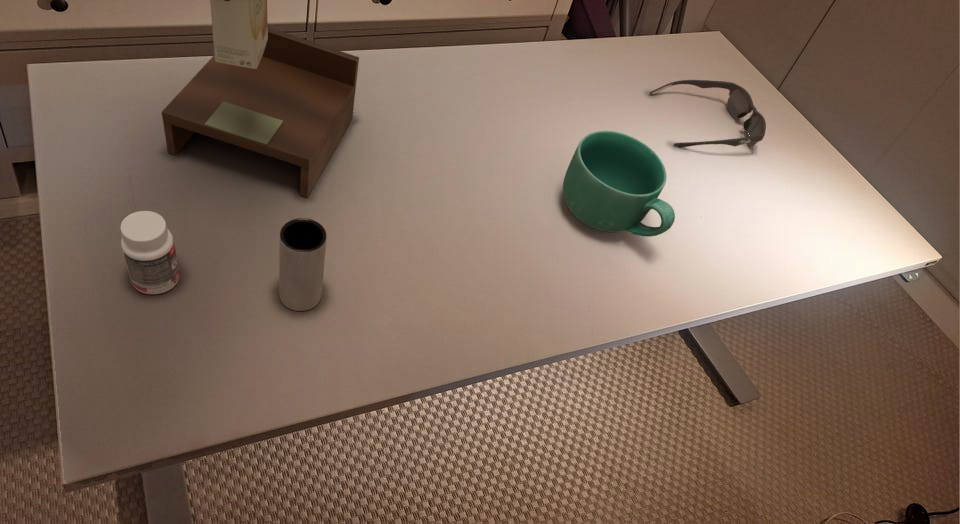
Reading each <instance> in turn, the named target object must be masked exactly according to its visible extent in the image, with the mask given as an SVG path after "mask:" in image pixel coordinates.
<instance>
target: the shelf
mask: <svg viewBox="0 0 960 524" xmlns="http://www.w3.org/2000/svg"><path fill="white" fill-rule="evenodd" d="M359 61H360V57H359V56H358V55H357V56H356V55H353V54H352V53H351V54H350V53H348V52H344V51H341V50H338V49H337V48H336V49H335V48H333V47H331V46H330V47H329V46H326V45H323V44H320V43H317V42H314V41H311V40H308V39H305V38H302V37H299V36H297V35H293V34H291V33H287V32H284V31H281V30H279V29H276V28H275V29H274V28H272V27H269V26H268V40H267V43H266V46H265V50H264V53H263V55H262V58H261V61H260V63H259V65H258V67H257V69H252V68H246V67H240V66H235V65H229V64H224V63H219V62H215V56H214V55H213V56H212V57H211V58H209V60H208V61H207V62H206V63H205V64H204V65H203V67H201V69H199V71H198V72H197V73H196V74H195V75H194V76H193V78H191V80H189V81H188V83H187V84H186V85H184V87H183V88H182V89H181V90H180V91H179V92H178V93H177V94H176V96H174V97H173V99H172V100H171V101H170V102H169V103H168V104H167V105H166V106H165V108H164V109H162V111H161V119H162V124H163V131H164V137H165V142H166V143H165V144H166V150H167V153H168V154H169V155H172V156H177V155H178V153H179V152H181V150H182V149H183V148H184V146H185V145H186V144H187V143H188V141H189V140H190V139H191V138H192V137H193V136H194V134H196V133H197V134H200V135H203V136H206V137H209V138H211V139H215V140H218V141H220V142H221V141H222V142H224V143H227V144H230V145H234V146H237V147H239V148H243V149H247V150H249V151H251V152H255V153H259V154H260V155H261V154H262V155H265V156H267V157H271V158H274V159H277V160H280V161H283V162H286V163H290V164H292V165H296V166H299V167H300V182H299V183H300V186H299V196H300V197H304V198H305V199H307V198H308V197H309V196H310V195H311V192H312V191H313V189H314V187H315V185H316V184H317V182H318V180H319V178H320V177H321V175H322V173H323V171H324V170H325V168H326V166H327V165H328V163H329V161H330V159H331V158H332V156H333V154H334V153H335V151H336V149H337V147H338V146H339V144H340V142H341V140H342V138H343V137H344V135H345V133H346V132H347V130H348V128H349V127H350V125H351V123H352V121H353V116H354V108H355V97H356V90H357V83H358V72H359V63H360V62H359Z"/></svg>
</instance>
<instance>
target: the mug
mask: <svg viewBox="0 0 960 524" xmlns="http://www.w3.org/2000/svg"><path fill="white" fill-rule="evenodd" d="M570 159H571V160H570V162H569V164H568V167H567V169H566V171H565V173H564V174H565V175H564V178H563V183H562V195H563V198H564V201H565V204H566V206H567V208H568V210H570V212H571V213H572V214H573V215H574V216H575V218H577V219H578V220H579V221H581V222H582V223H584V224H585V225H587V226H588V227H591V228H593V229H594V230H598V231H602V232H606V233H607V232H608V233H619V232H620V233H621V232H625V231H627V232H628V233H631V234H632V235H636V236H640V237H650V238H651V237H656V236H659V235H662V234H663V233H666V232H667V231H669V230H670V229H671V228H672V227H673V225H674V222H675V219H676V213H675V210H674V208H673V206H672V205H671V204H670V203H668V202H667V201H665V200H662V199H661V198H658V197H659V196H660V195H661V193H662V191H663V190H664V188H665V186H666V183H667V171H666V167H665V165H664V162H663V161H662V160H661V158H660V157H659V155H658V154H657V153H656V152H655V151H654V150H653V149H652V148H651V147H650V146H648V145H647V144H646V143H644V142H642V141H641V140H639V139H637V138H635V137H633V136H631V135H628V134H625V133H623V132H617V131H613V130H598V131H593V132H590V133H588V134H587V135H585V136H584V137H583V138H582V139H581V140H580V141H579V142H578V144H577V147H576V148H575V151H574V154H573V155H572V157H571V158H570ZM651 210H654V211H655V212H657V213H658V215H659V217H660V221H661V222H660V225H659V226H650V225H647V224H645V223H643V222H642V221H643V220H644V219H645V218H646V216H647V215H648V214H649V213H650V211H651Z"/></svg>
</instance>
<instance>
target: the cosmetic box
mask: <svg viewBox="0 0 960 524" xmlns="http://www.w3.org/2000/svg"><path fill="white" fill-rule="evenodd" d="M209 4H210V16H211V29H212V41H213V42H212V43H213V53H214V54H213V56H215V62H219V63H224V64H229V65H235V66H240V67H246V68H252V69H257V67H258V65H259V63H260V61H261V58H262V55H263V53H264V50H265V46H266V43H267V40H268V27H269V24H268V0H230V1H224V0H209Z"/></svg>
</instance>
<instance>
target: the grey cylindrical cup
mask: <svg viewBox="0 0 960 524" xmlns="http://www.w3.org/2000/svg"><path fill="white" fill-rule="evenodd" d="M327 236H328V235H327V231H326V229H325V228H324V226H323V225H322V224H321V223H320V222H318V221H316V220H314V219H311V218H305V217H298V218H294V219H291V220H289V221H287V222H286V223H285V224H283V225H282V227H281V229H280V231H279V254H278V255H279V258H278V259H279V262H278V265H279V267H278V270H279V271H278V273H279V274H278V276H279V277H278V278H279V279H278V282H279V283H278V295H279V300H280V301H281V303H282V305H283V306H284V307H286V308H287V309H289V310H292V311H296V312H306V311H309V310H311V309H314V308H315V307H316V306H318V305H319V303H320V301H321V299H322V294H323V282H324V274H325V273H324V272H325V261H326V260H325V259H326V249H327V238H328V237H327Z"/></svg>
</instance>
